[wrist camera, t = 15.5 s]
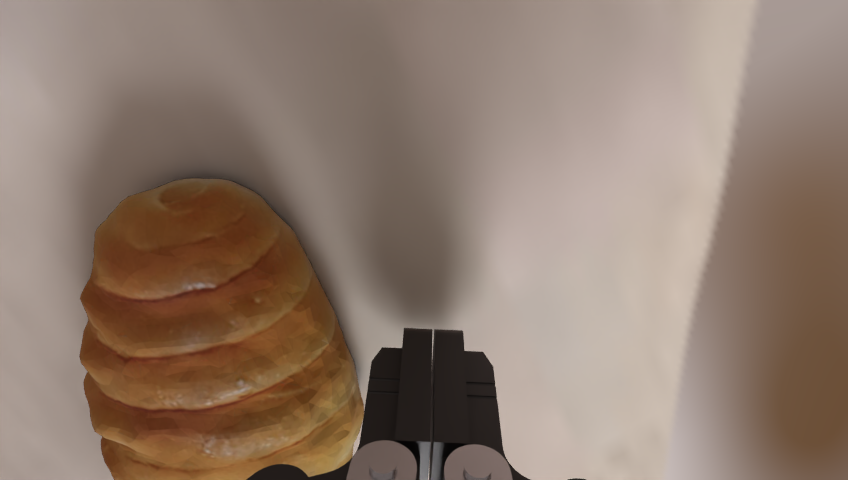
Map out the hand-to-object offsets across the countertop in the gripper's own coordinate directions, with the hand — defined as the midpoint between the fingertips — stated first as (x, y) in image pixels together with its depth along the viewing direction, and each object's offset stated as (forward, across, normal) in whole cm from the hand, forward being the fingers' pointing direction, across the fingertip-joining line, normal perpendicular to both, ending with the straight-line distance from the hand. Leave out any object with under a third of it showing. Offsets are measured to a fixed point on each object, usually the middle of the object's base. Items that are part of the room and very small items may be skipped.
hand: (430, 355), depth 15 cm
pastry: (+1, +6, +1) cm, 6 cm away
